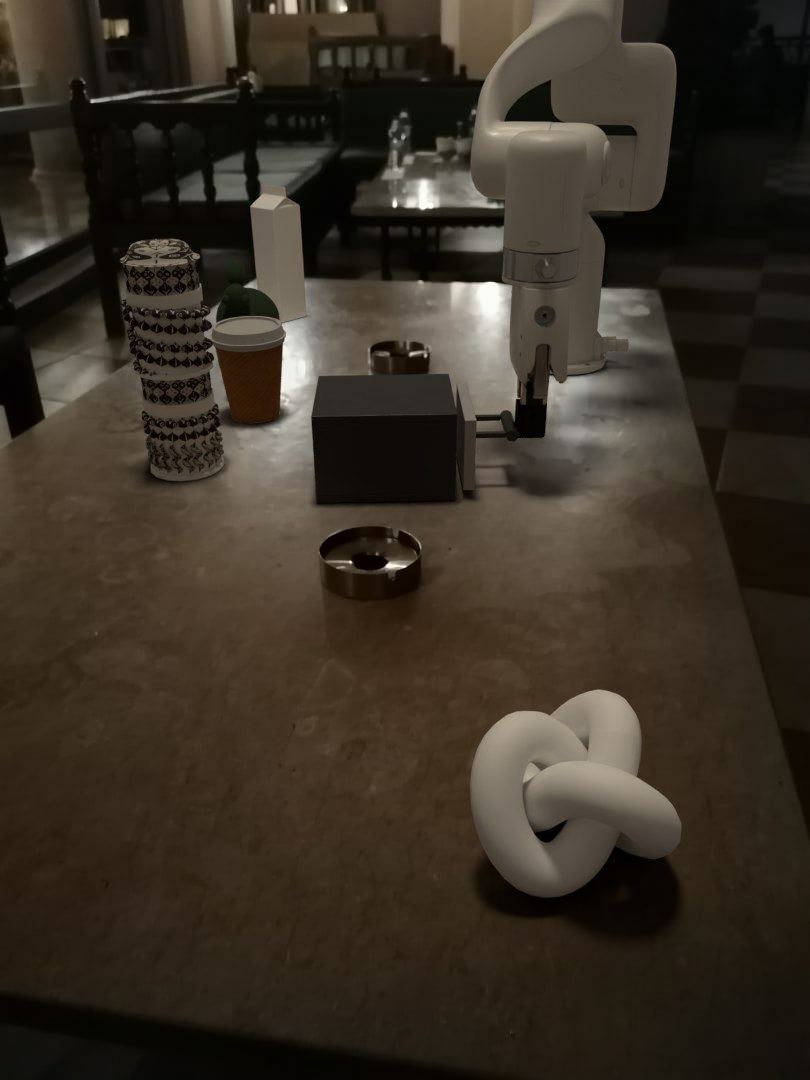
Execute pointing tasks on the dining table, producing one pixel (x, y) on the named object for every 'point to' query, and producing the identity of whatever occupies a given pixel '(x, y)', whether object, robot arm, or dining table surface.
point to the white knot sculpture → (567, 794)
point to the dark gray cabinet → (384, 438)
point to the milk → (279, 251)
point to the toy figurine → (243, 297)
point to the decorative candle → (172, 359)
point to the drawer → (476, 433)
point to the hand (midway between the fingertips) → (529, 435)
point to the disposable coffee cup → (250, 365)
